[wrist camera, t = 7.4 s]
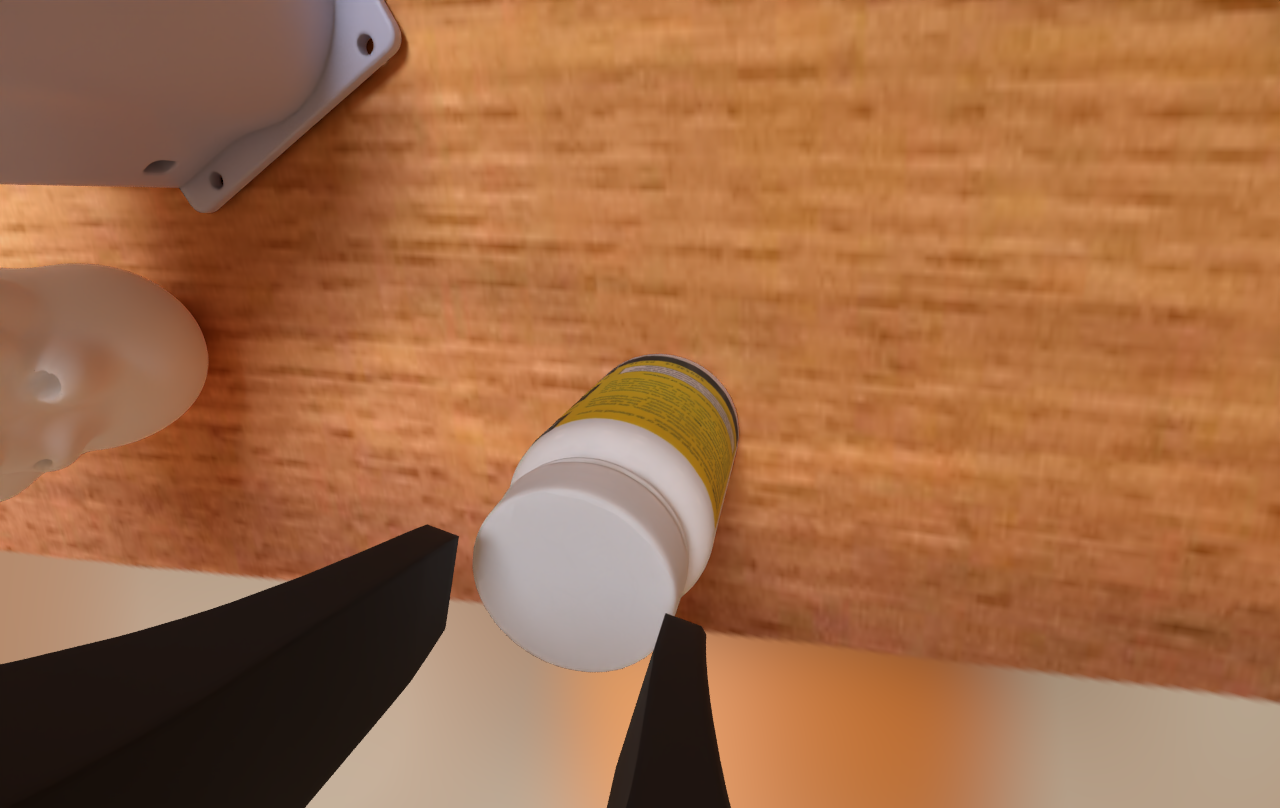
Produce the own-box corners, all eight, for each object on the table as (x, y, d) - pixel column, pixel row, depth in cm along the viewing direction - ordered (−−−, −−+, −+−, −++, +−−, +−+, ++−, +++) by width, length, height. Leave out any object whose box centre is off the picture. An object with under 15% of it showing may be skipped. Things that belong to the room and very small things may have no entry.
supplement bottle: (605, 333, 18) (463, 432, 10) (758, 373, 17) (728, 511, 10) (581, 471, 20) (443, 644, 12) (719, 512, 19) (667, 725, 11)
